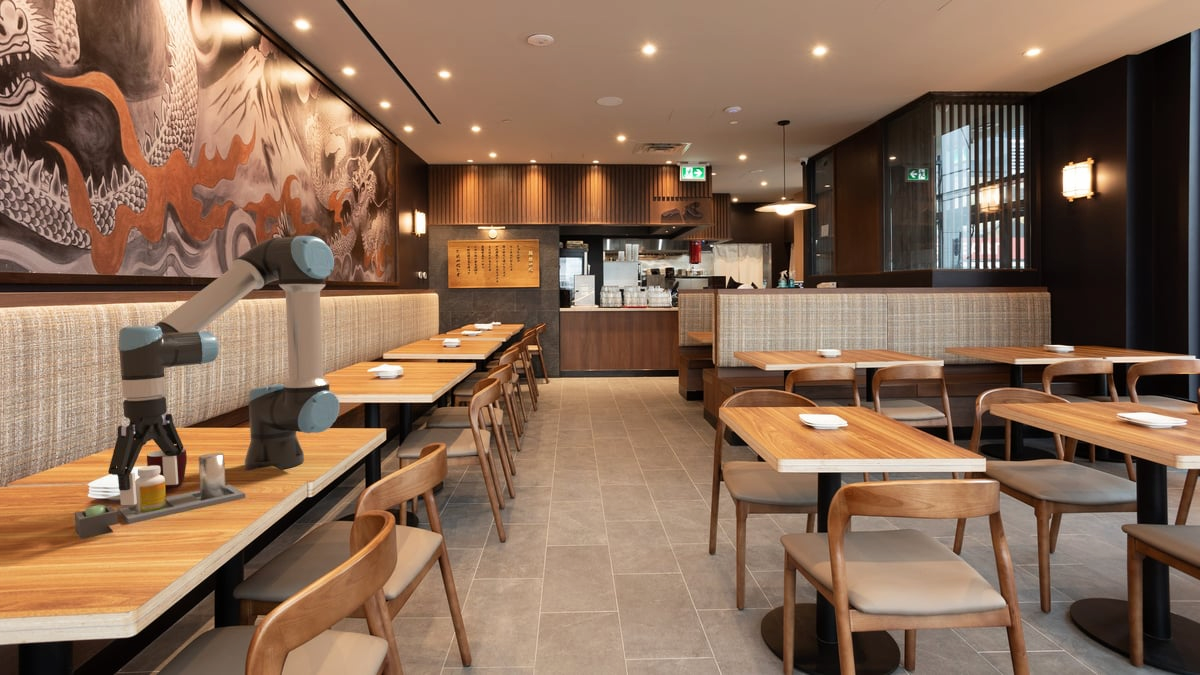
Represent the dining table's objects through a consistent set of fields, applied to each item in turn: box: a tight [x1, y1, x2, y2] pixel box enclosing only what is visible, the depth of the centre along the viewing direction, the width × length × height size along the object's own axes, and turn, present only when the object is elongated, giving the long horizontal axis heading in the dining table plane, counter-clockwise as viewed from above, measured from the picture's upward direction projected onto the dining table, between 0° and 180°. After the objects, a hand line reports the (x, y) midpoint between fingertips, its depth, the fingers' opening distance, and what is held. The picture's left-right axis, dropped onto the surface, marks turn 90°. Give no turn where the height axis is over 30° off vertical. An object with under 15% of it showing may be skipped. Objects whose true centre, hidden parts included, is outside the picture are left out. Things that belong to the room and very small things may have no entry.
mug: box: [146, 448, 188, 490], centre depth 153 cm, size 10×8×10 cm
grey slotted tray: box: [116, 484, 246, 525], centre depth 140 cm, size 22×11×2 cm, turn 137°
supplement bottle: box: [135, 466, 167, 514], centre depth 135 cm, size 5×5×10 cm
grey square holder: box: [73, 505, 119, 540], centre depth 128 cm, size 6×6×4 cm
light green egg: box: [84, 504, 106, 517], centre depth 128 cm, size 3×3×4 cm
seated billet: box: [198, 452, 227, 501], centre depth 144 cm, size 5×5×10 cm
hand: (151, 494), depth 136 cm, fingers open, 13 cm apart
